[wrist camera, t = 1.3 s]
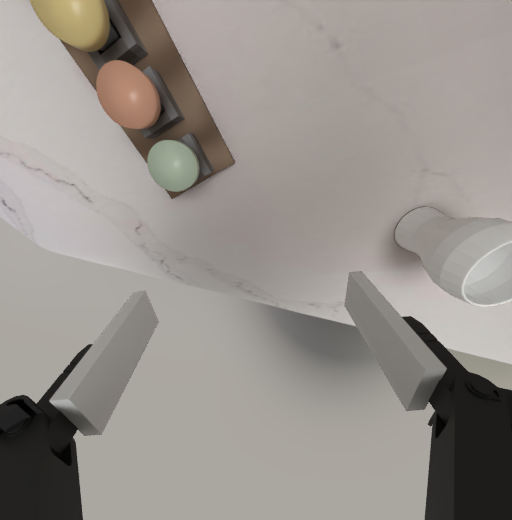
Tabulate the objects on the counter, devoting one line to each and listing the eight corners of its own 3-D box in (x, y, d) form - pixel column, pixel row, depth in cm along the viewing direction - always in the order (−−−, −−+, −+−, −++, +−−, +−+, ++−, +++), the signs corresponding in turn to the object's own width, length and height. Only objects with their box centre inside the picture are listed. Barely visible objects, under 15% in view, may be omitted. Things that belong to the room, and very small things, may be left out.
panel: (12, -39, 22) (-40, -78, 18) (89, -121, 20) (49, -187, 16) (175, 196, 34) (165, 203, 30) (234, 161, 32) (232, 164, 28)
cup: (387, 262, 41) (453, 319, 27) (383, 211, 36) (460, 251, 23) (447, 244, 39) (547, 295, 26) (451, 188, 34) (577, 216, 21)
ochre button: (63, 14, 21) (10, -22, 17) (101, -21, 20) (56, -71, 15) (103, 74, 23) (67, 58, 19) (139, 45, 22) (110, 20, 18)
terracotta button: (115, 93, 24) (83, 81, 20) (151, 65, 23) (126, 46, 19) (146, 139, 27) (124, 138, 22) (180, 116, 25) (165, 110, 21)
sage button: (156, 153, 27) (137, 155, 23) (189, 132, 26) (176, 129, 22) (181, 190, 30) (168, 199, 25) (212, 172, 29) (205, 178, 24)
